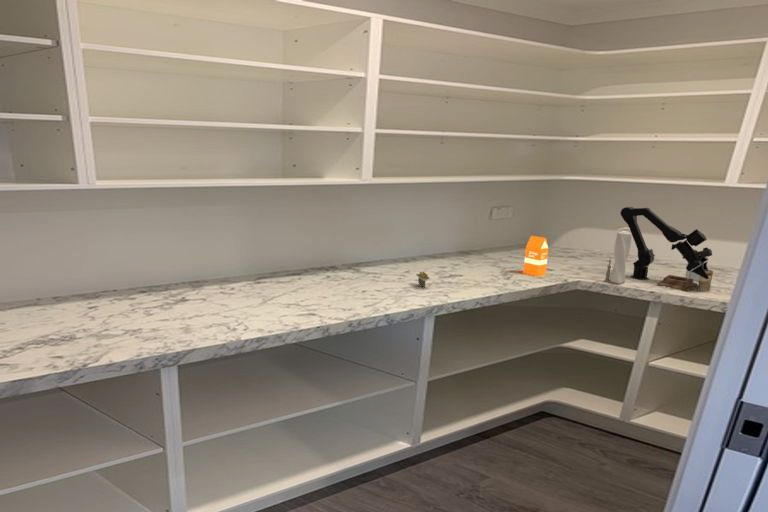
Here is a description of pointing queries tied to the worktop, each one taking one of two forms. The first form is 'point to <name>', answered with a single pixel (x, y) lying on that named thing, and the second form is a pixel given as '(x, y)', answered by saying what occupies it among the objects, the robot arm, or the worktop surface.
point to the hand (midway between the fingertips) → (709, 277)
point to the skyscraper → (619, 257)
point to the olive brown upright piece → (422, 278)
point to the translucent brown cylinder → (705, 281)
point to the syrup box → (692, 275)
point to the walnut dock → (677, 282)
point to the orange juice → (536, 256)
